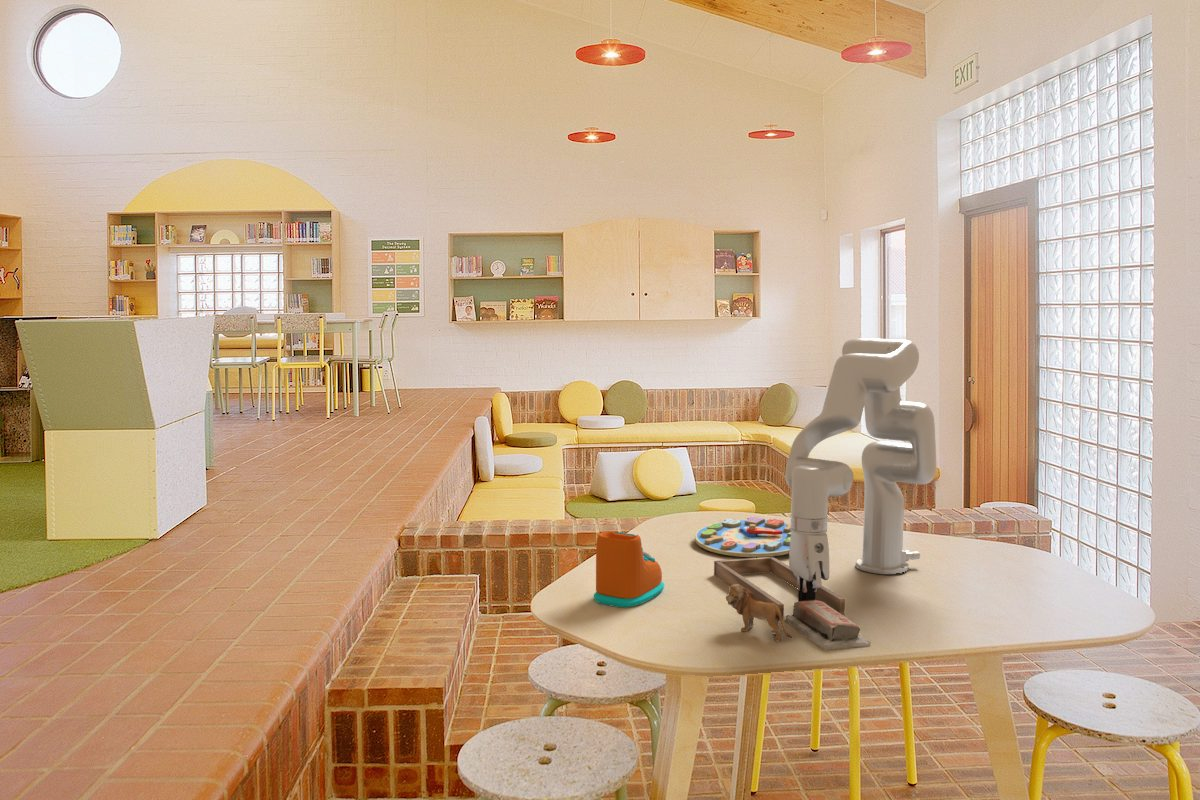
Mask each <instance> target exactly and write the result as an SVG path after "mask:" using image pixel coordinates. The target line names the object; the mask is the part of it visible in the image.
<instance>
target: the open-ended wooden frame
mask: <svg viewBox="0 0 1200 800" xmlns="http://www.w3.org/2000/svg"><path fill="white" fill-rule="evenodd" d="M713 565H714V566H713V576H714V577H716V578H717V579H719V580H720V581H722V582H723V583H724V584H726V585H727V586H728V587H729V586H731V585H734V584H739V585H742V586H743V587H745V588H747V589H748V590H749V591H751V592H752V593H753V594H754V595H755V596H756V598H757V599H758V600H759V601H762V602H766V603H774V604H776V605H777V606H778V607H779V608H780V612H781V615H782V619H783V621H784V620H785V619H784V618H785V617H784V614H785V613H784V610H785V609H784V607H785V604H784V603H783V602H781V601H780V600H778V599H777V598H775V597H774V596H772V595H771V594H769V593H768V592H767V591H765V590H763V589H761V588H760V587H759V586H757V585H755V583H754V582H752V581H750V580H748V579H747V578H746V577H744V576H742V575H751V574H764V573H763V572H766V573H771V574H773V575H774V576H775V575H776V577H777V578H779V579H780V578H781V579H780V580H782V579H783V580H784V581H783V580H782V581H783V582H785V581H786V582H785V583H787V582H788V583H789V585H790V584H791V585H793V586H794V587H793V586H792V587H793V588H795V587H796V588H797V578H796V577H795V576H794V574H793V572H792V571H791V570H790V567H789V564H787V563H785V562H783V561H781V560H779V559H778V558H775V556H774V557H761V558H756V557H746V558H736V559H724V560H723V559H722V560H714V561H713ZM788 583H787V584H788ZM791 585H790V586H791ZM796 588H795V589H796ZM815 600H818V601H821V602H824V603H825V604H827V605H828V606H830V607H831V608H833V609H834V610H836V611H837V612H838V613H840V614H841V615H843V616H845V614H846V613H845V612H846V598H844V597H843V596H841V595H839V594H837V593H836V592H834V591H832V590H831V589H829V588H827V587H825V586H824V585H822V588H817V591H816V592H815ZM779 622H780V620H779Z"/></svg>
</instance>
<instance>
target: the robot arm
mask: <svg viewBox="0 0 1200 800" xmlns="http://www.w3.org/2000/svg"><path fill="white" fill-rule="evenodd" d="M919 360H920V353H919V349H918V347H917V345H916V344H915V343H914V342H913V341H911V340H908V339H899V338H897V339H891V338H890V339H889V338H871V337H864V338H863V337H861V338H860V337H859V338H858V337H857V338H851V339H849V340H847V341H845V342H844V344H843V345H842V348H841V356H839V357H838V358H837V360H836V361H835V363H834V365H833V369H832V373H831V377H830V381H829V384H828V388H827V391H826V395H825V398H824V401H823V407H822V410H821V413H819V414H818V416H815V418H813V419H812V420H810V421H809V422H808V423H807V424H806V425H805V426H804V427H803V429H802V430H801V431H800V432H799V433H798V434H797V435H796V437H795V438H794V440H793V442H792V443H791V447H790V450H789V453H788V454H789V455H788V458H787V460H786V461H787V462H786V466H785V474H784V476H785V478H784V480H785V482H786V485H787V487H789V489H790V490H791V497H790V498H791V499H790V500H791V502H790V524H791V529H790V530H791V531H792V532H791V539H790V550H789V554H788V563H789V564H788V566H789V567H790V570H791V571H792V572H793V574H794V576H795V577H796V578H797V588H798V589H797V591H798V593H797V602H799V601H810V600H815V592H816V591H817V588H822V586H823V582H822V580H824V581H828V580H829V579H830V547H829V539H828V534H827V533H828V510H829V509H828V508H829V498H833V497H834V498H836V497H841V496H844V495H845V494H848V492H849V491H850V490H851V488H852V486H853V483H854V472H853V469H852V468H851V467H850V465H848V464H846V463H845V462H841V461H837V460H829V459H821V458H812V457H809V456H810V453H811V451H812V450H813V449H814V448H815V447H816V446H817V445H818V444H820V443H821V442H823V441H824V440H826V439H829V438H831V437H834V436H836V435H840V434H842V433H845V432H847V431H850V430H853V429H855V428H857V427H858V426H859V424H861V419H862V416H863V411H864V420H865V427H866V431H867V434H869V436H871V437H872V438H875V439H878V440H879V439H880V440H881V441H880V440H879V441H873V442H871V443H868V444H867V445H866V446H865V447H864V448H863V450H862V453H861V467H862V473H863V474H862V475H863V483H864V486H863V488H864V496H863V497H864V501H863V502H864V504H863V505H864V506H863V507H864V508H863V529H862V531H863V532H862V533H863V536H862V557H861V558H858V559H857V560H856V561H855V566H856V568H857V569H859V570H861V571H863V570H864V572H866V571H867V573H872V574H877V573H878V574H879V575H897V574H896V573H900V574H903V573H902V572H904V573H906V572H908V571H909V563H908V562H909V561H910V560H912V561H913V560H914V561H915V560H919V559H920V558H921V554H920V552H919V551H909V550H904V526H905V525H904V519H905V497H904V495H903V492H902V490H901V487H899V485H898V484H897V483H905V484H912V485H927V484H928V485H929V483H931V482H932V481H933V479H934V478H935V477H936V471H937V448H936V425H935V424H936V423H935V417H934V414H933V413H934V412H933V410H932V408H931V407H929V405H928V404H925V403H923V402H917V401H916V402H915V401H905V400H902V398H901V388H900V387H902V386H903V385H904V384H905V383H906V382H907V381H908V380H909V379H910V378H911V377H912V376H913V375H914V373H915V372H916V370H917V368H918V365H919ZM883 440H888V441H883ZM893 441H894V442H893ZM897 441H898V442H897ZM905 442H907V443H905ZM908 442H909V443H908ZM907 570H908V571H907ZM905 571H906V572H905Z"/></svg>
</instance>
